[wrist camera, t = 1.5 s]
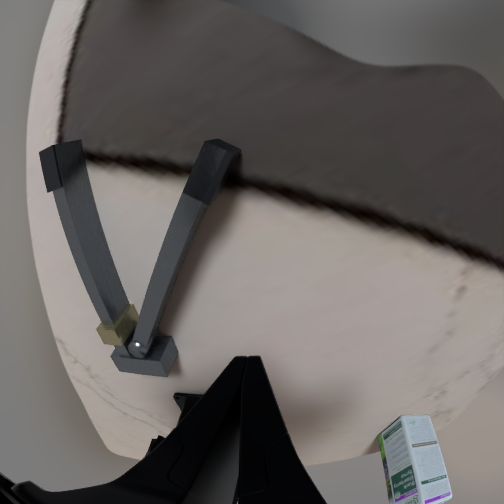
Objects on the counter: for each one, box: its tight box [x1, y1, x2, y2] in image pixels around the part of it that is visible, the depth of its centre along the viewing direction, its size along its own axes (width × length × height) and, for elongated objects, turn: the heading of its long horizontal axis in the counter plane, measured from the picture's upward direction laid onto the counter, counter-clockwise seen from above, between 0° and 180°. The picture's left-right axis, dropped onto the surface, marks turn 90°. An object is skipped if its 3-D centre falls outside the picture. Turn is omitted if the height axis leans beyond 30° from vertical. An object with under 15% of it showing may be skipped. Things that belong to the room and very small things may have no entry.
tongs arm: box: [128, 139, 241, 358], centre depth 18 cm, size 17×2×3 cm, turn 153°
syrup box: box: [378, 415, 452, 504], centre depth 21 cm, size 6×6×14 cm
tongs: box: [39, 140, 178, 377], centre depth 19 cm, size 20×5×4 cm, turn 8°
